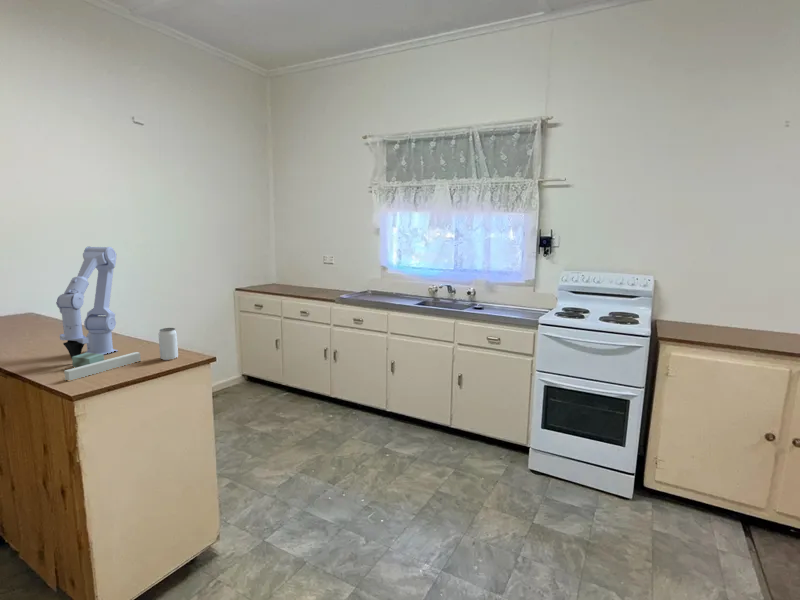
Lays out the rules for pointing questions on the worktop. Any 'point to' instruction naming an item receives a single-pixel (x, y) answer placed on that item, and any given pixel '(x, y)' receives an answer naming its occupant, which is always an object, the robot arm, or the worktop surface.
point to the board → (101, 366)
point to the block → (86, 359)
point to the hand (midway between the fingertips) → (76, 359)
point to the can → (168, 343)
